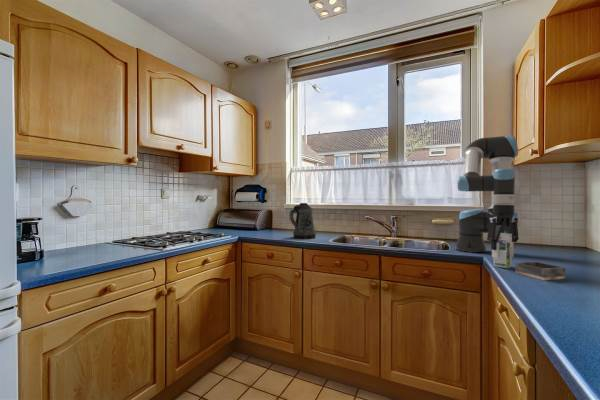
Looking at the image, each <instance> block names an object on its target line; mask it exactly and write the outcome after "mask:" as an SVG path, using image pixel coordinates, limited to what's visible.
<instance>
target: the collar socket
mask: <svg viewBox="0 0 600 400" xmlns="http://www.w3.org/2000/svg"><path fill="white" fill-rule="evenodd" d="M514 264H515V266H514V267H515V268H514V269H515V270H514V273H515V274H517V275H522V276H525V277H529V278H533V279H538V280H541V281H554V280H564V279H565V280H566V267H564V266H563V267H562V266H557V265H553V264H549V263H544V262H540V261H525V262H523V261H522V262H515V263H514Z"/></svg>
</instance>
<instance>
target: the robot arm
mask: <svg viewBox="0 0 600 400" xmlns="http://www.w3.org/2000/svg"><path fill="white" fill-rule="evenodd" d="M518 155H519V150H518V142H517V139H516V137H515V136H514V135H502V136H501V135H500V136H491V137H490V136H489V137H481V138H477V139H476V140H474V141H472V142H470V143H469V145H467V146H466V148H465V149H464V152H463V158H464V167H463V174H462V175H461V176H458V177H457V190H458V191H459V192H465V193H466V192H467V193H468V192H491V202H490V203H491V204H490V205H491V206H489V207H488V208H487V211H484V209H483V208H481V209H468V210H466V209H465V210H461V211H460V212H459V218H458V220H459V223H458V224H459V225H458V238H457V241H456V244H455V246H454V247H455V250H456V249H457V250H456V251H459V250H461V251H460V252H464V251H468V252H467V253H472V252H485V253H487V246H486V243H485V241H484V234H487V238H486V240H487V241H488V242H490V243H491V245H490V246H491V257H492V258H494V257H495V258H499V243H497V242H498V239H499V236H500V233H508V234H512V258H514V255H515V254H514V250H515V243H518V241H519V240H520V237H519V228H518V227H519V226H518V221H519V218H518V212H515V205H514V204H515V187H516V186H515V185H516V184H515V182H516V172H515V169H514V168H512V162H514V161H515V158H516V157H518ZM482 159H488V162H489V163H491V175H481V169H482Z"/></svg>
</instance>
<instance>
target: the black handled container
mask: <svg viewBox="0 0 600 400" xmlns="http://www.w3.org/2000/svg"><path fill="white" fill-rule="evenodd" d="M313 211H314V209H313V208H312V207H311V206H310V205H308V203H307V202H300V204H298V205H294V206H293V209H291V210H290V212H289V221H290V222H291V224H292V225H293V226H294V230H293V234H292V235H293V238H295V239H301V240H310V239H311V240H312V239H313V240H314V239H315V238H316V235H317V232H316V230H315V225H314V220H313V219H314V218H313ZM294 214H296V217H295V219H294Z"/></svg>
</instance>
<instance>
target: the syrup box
mask: <svg viewBox="0 0 600 400" xmlns="http://www.w3.org/2000/svg"><path fill="white" fill-rule="evenodd" d="M497 243H499V258H495V257H493V267H496V268H497V267H498V268H504V269H510V268H511V267H512V265H513V264H512V260H513V259H512V258H513V257H512V234H508V233H500V236H499V239H498V242H497Z"/></svg>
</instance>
